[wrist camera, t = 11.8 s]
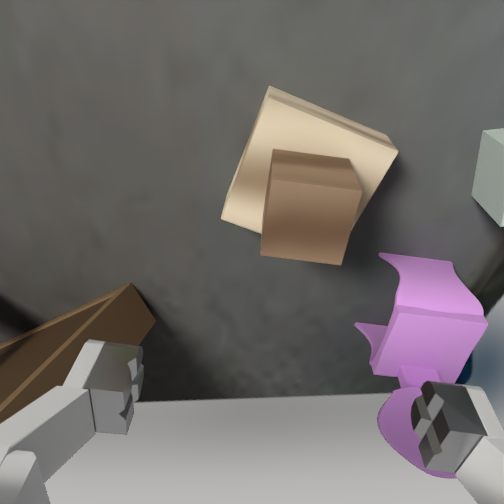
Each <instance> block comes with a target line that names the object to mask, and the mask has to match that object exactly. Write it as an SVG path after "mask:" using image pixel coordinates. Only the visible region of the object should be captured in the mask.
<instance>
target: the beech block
mask: <svg viewBox="0 0 504 504" xmlns="http://www.w3.org/2000/svg"><path fill="white" fill-rule="evenodd" d="M273 149H279V150H287V151H294V152H302V153H309V154H317V155H325V156H332V157H340V158H347V159H349V160H350V162H351V165H352V167H353V170H354V172H355V174H356V177H357V179H358V182H359V184H360V187H361V189H362V194H361V198H360V201H359V205H358V208H357V212H356V215H355V218H354V222H353V225H352V228H353V227H354V225H355V223H356V222H357V220H358V218H359V217H360V215H361V213H362V212H363V210H364V208H365V207H366V205H367V203H368V202H369V200H370V198H371V197H372V195H373V193H374V192H375V190H376V189H377V187H378V185H379V184H380V182H381V180H382V179H383V177H384V175H385V174H386V172H387V170H388V169H389V167H390V165H391V164H392V162H393V160H394V159H395V157H396V155H397V154H398V150H397V149H396V148H395V146H394V145H393V144H392V142H391V141H390V139H389V138H388V137H387V135H385V134H383V133H380V132H378V131H376V130H373V129H371V128H369V127H366V126H364V125H361V124H359V123H357V122H354V121H352V120H350V119H347V118H345V117H342V116H340V115H338V114H335V113H333V112H331V111H328V110H326V109H323V108H321V107H319V106H316V105H314V104H312V103H309V102H307V101H304V100H302V99H300V98H297V97H295V96H293V95H290V94H288V93H285V92H283V91H281V90H278V89H276V88H274V87H271V86H269V88H268V90H267V93H266V95H265V98H264V101H263V103H262V106H261V108H260V111H259V113H258V116H257V119H256V121H255V124H254V126H253V129H252V132H251V134H250V137H249V139H248V142H247V144H246V147H245V150H244V152H243V155H242V157H241V160H240V163H239V165H238V168H237V170H236V173H235V175H234V178H233V181H232V183H231V186H230V188H229V191H228V193H227V196H226V199H225V203H224V208H223V212H222V216H221V219H222V220H225V221H228V222H231V223H234V224H236V225H239V226H242V227H245V228H247V229H250V230H253V231H256V232H258V233H261V234H262V218H263V210H264V204H265V197H266V190H267V184H268V177H269V170H270V163H271V157H272V150H273ZM351 230H352V229H351Z"/></svg>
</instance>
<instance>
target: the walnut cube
mask: <svg viewBox="0 0 504 504" xmlns="http://www.w3.org/2000/svg"><path fill="white" fill-rule="evenodd" d="M361 194H362V189H361V187H360V184H359V182H358V179H357V177H356V174H355V172H354V170H353V167H352V165H351V162H350V160H349V159H347V158H340V157H332V156H325V155H317V154H309V153H302V152H294V151H287V150H279V149H273V150H272V157H271V163H270V170H269V177H268V184H267V190H266V197H265V204H264V210H263V218H262V234H261V250H260V255H263V256H271V257H279V258H287V259H295V260H303V261H311V262H319V263H327V264H334V265H341V264H342V260H343V257H344V253H345V250H346V246H347V243H348V239H349V236H350V232H351V229H352V225H353V222H354V218H355V215H356V212H357V208H358V205H359V201H360V198H361Z"/></svg>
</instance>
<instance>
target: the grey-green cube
mask: <svg viewBox="0 0 504 504" xmlns="http://www.w3.org/2000/svg"><path fill="white" fill-rule="evenodd" d="M471 196H472V197H473V198H474V199H475V200H476V201H477V202H478V203H479V204H480V205H481V206H482V207H483V209H484V210H485V211H486V212H487V213H488V214H489V215H490V216H491V217H492V218H493V219H494V220H495V222H496V223H497V224H498V225H499V226H500V227H504V128H503V129H493V130H483V132H482V138H481V144H480V149H479V155H478V161H477V167H476V172H475V178H474V184H473V189H472V195H471Z"/></svg>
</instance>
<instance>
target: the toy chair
mask: <svg viewBox="0 0 504 504" xmlns="http://www.w3.org/2000/svg"><path fill="white" fill-rule="evenodd" d="M378 256H379V257H381V258H382V259H384V260H386V261H387V262H389V263H390V264H391V265H392V266H394V267H395V268H396V269H397V271H398V272H399V275H400V282H399V286H398V289H397V291H396V296H395V305H394V310H393V313H392V316H391V319H390V321H389V324H388V326H382V325H374V324H366V323H358V322H355V324H354V326H355V327H356V328H357V329H359V330H360V331H361V332H362V333H363V334H364V335H365V336H366V338H367V339H368V340H369V342H370V344H371V347H372V353H371V357H370V362H369V364H370V366H372V370H373V374H374V375H382V376H391V377H398V379H399V383H400V387H401V389H397V390H394V391H393V392H392V395H391V397H390V398H389V399H388V400H387V401H386V402H385V403H384V404H383V406H382V407H381V408H380V410H379V413H378V417H377V422H378V427H379V430H380V432H381V434H382V435H383V437H384V438H385V440H386V441H387V442H388V443H389V444H390V445H391V446H392V447H393V449H395V450H396V451H397V452H398V453H399V454H400V455H402V456H403V457H404V458H405V459H407V460H408V461H409V462H410V463H412V464H413V465H415V466H416V467H417V468H419V469H420V470H422V471H424V472H426V473H428V474H430V475H433V476H436V477H441V478H457V477H456V476H455V474H456V473H449V472H442V471H435V470H428V469H425V467H424V464H423V460H422V457H421V454H420V451H419V447H418V446H419V443H420V441H421V439H420V438H419V437H418V435H417V434H416V433H415V432H414V431H413V427H412V424H411V406H412V404H413V402H414V400H415V398H417V397H419V396H421V395H422V392H421V389H420V388H421V387H422V385H423V383H424V382H426V381H436V382H445V383H455V382H456V380H457V378H458V376H459V375H460V373H461V371H462V369H463V367H464V365H465V363H466V361H467V359H468V357H469V356H470V354H471V352H472V350H473V349H474V347H475V346H476V344H477V343H478V341H479V340H480V339H481V337H482V335H483V334H484V332H485V330H486V328H487V327H488V325H489V324H488V322H487V320H486V319H485V317H484V316H483V315H484V311H483V308H482V305H481V304H480V302H479V301H478V300H477V299H476V297H475V296H474V295H473V294H472V293H471V292H470V291H469V290H468V289H467V288H466V286H465V285H464V284H463V283H462V282H461V281H460V279H459V278H458V277H457V275H456V273H455V271H454V268H453V263H452V262H449V261H442V260H435V259H427V258H419V257H412V256H404V255H397V254H389V253H381V252H380V253H379V255H378Z"/></svg>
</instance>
